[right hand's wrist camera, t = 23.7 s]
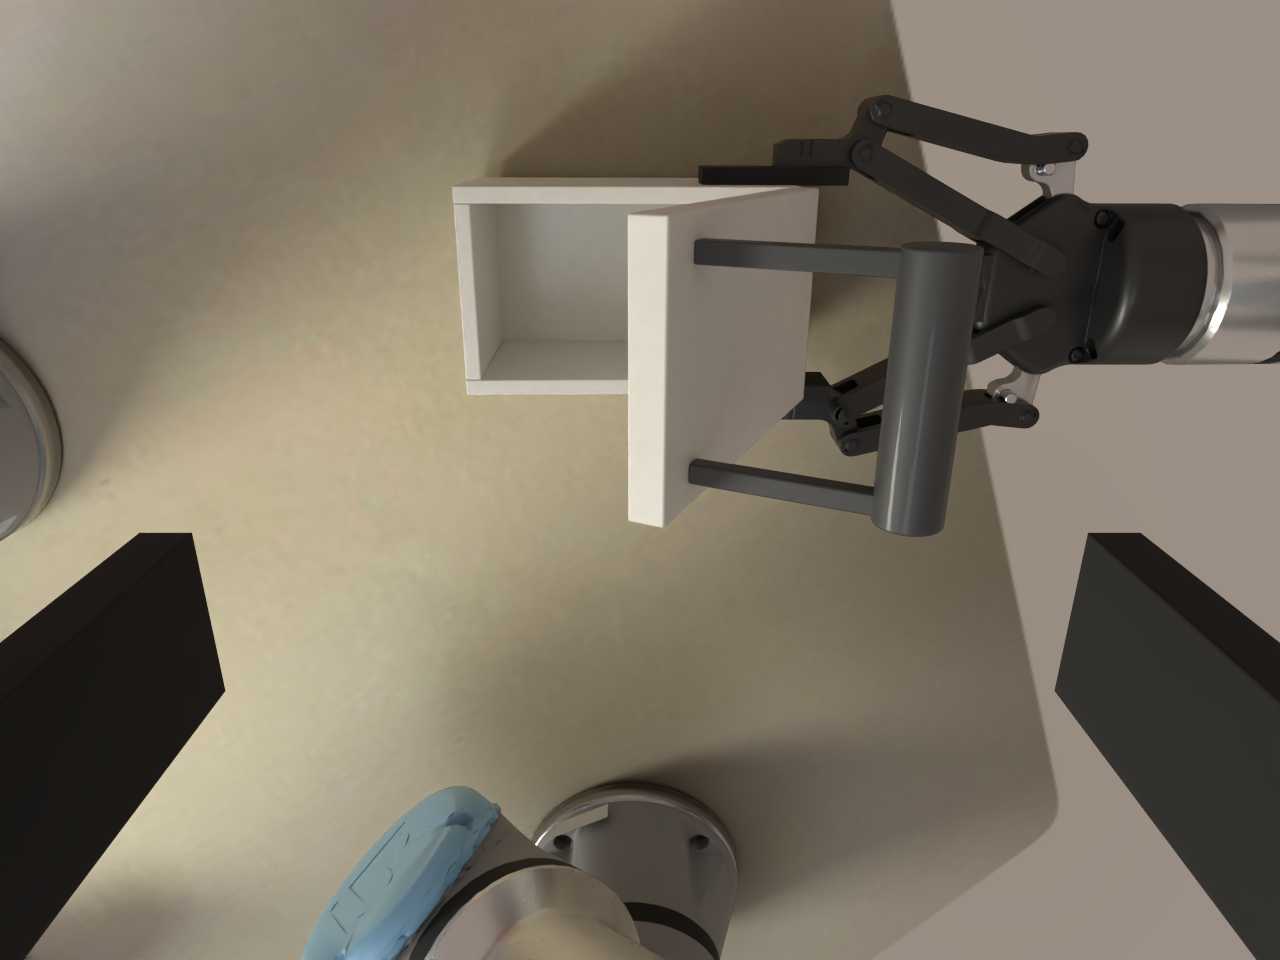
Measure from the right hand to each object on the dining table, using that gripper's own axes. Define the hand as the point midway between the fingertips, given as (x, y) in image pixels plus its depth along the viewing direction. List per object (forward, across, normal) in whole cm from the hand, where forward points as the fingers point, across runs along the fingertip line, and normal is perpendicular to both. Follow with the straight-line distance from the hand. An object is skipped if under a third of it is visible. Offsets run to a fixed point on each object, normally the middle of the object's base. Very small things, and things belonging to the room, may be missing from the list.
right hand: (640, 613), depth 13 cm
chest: (+37, +1, 0) cm, 37 cm away
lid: (+20, -3, 0) cm, 21 cm away
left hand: (+31, -3, 0) cm, 31 cm away
